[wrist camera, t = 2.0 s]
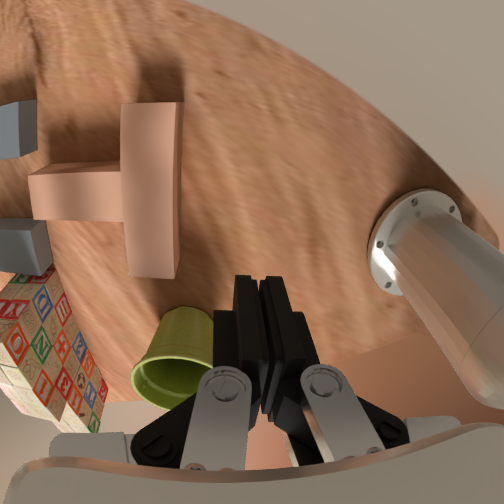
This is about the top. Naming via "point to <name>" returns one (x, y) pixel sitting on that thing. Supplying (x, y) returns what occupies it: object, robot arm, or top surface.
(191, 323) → the plant pot
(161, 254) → the t block
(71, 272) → the top surface
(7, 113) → the t dock
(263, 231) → the top surface
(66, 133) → the top surface
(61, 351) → the stack of blocks
